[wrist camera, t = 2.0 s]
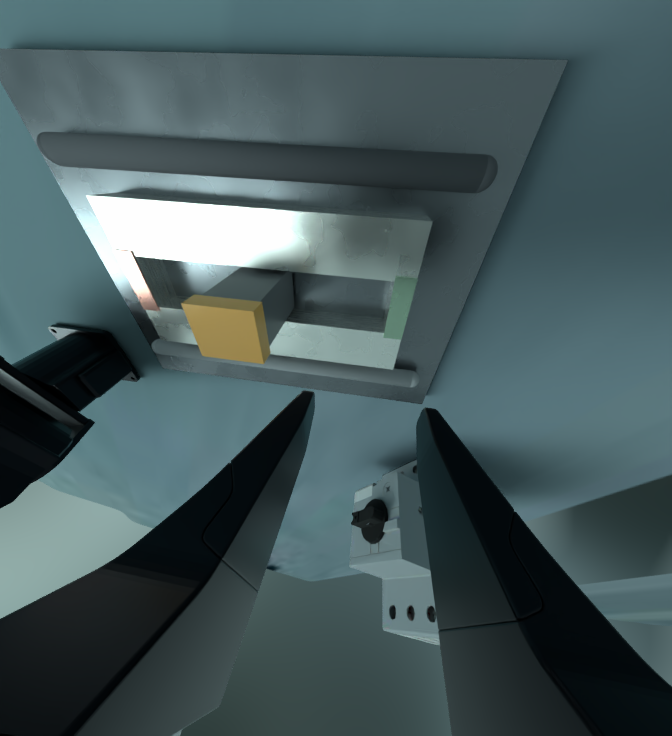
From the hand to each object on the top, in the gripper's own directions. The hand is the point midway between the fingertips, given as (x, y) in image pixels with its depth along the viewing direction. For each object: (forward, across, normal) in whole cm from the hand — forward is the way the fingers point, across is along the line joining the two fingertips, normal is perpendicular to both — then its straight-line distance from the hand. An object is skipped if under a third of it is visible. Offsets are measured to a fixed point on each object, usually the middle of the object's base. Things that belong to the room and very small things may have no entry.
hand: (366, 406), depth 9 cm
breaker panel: (+11, +7, 0) cm, 13 cm away
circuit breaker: (+11, -8, +24) cm, 28 cm away
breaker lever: (+10, +7, 0) cm, 12 cm away
